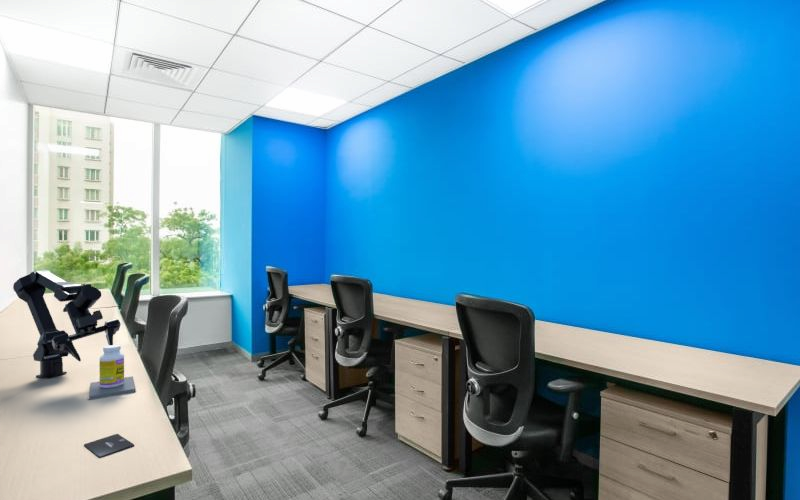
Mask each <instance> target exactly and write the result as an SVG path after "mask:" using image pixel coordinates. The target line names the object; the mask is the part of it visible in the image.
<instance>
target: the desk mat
mask: <svg viewBox="0 0 800 500" xmlns="http://www.w3.org/2000/svg"><path fill="white" fill-rule="evenodd" d="M136 392H137V391H136V385H135V379H134V376H133V375H132V376H126V377H125V376H124V383H123V384H122V385H121V386H118V387H114V388H101V387H100V380H99V381H93V382H90V383H89V393H88V401H89V400H96V399H102V398H107V397H114V396H119V395H124V394H131V393H136Z"/></svg>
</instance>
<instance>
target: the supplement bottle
mask: <svg viewBox="0 0 800 500" xmlns="http://www.w3.org/2000/svg"><path fill="white" fill-rule="evenodd" d="M121 348H122V347H121V345H120V344H113V345H109V344H108V345H105V346H103V347H102V350H103V354H102V355H100V357H99V381H100V387H101V388H114V387H118V386H121V385H122V384H123V383H124V378H125V354H124V353H122V352H121Z"/></svg>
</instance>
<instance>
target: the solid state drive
mask: <svg viewBox="0 0 800 500" xmlns="http://www.w3.org/2000/svg"><path fill="white" fill-rule="evenodd" d="M83 446H84V447H85V448H86V449H87V450H88V451H90V452H91V454H92V453H93V455H95V456H96V457H97V458H99V459H100V458H104V457H107V456H109V455H113V454H115V453H119V452H121V451H124V450H127V449H130V448H133V447H134V446H135V444H134V443H133V442H131V441H130V440H129V439H127V438H125V437H124V436H121V435H120V434H119V433H115V434H112V435H109V436H105V437H103V438H99V439H96V440H94V441H90V442H87V443H84V444H83Z"/></svg>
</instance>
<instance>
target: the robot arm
mask: <svg viewBox="0 0 800 500" xmlns="http://www.w3.org/2000/svg"><path fill="white" fill-rule="evenodd" d="M12 288H13V291H14V292H15V293H16V296H17V297H18V299H20V300H21V301H24V302H25V303H26V304H27V306H28V309H29V311H30V314H31V316H32V319H33V322H34V324H35V326H36V329H37V331H38V334H39V339H38V341H37V344H36V345H37V347H36V349H35V351H34V352H33V354H32V357H33V361H35V362H40V363H39V364H40V365H39V366H40V367H39V368H40V369H39V370H40V374H37V375H35V378H41V379H42V378H44V379H51V378H54V377H58V376H61V375H65V374H68V372H67V371H64V367H63V366H64V364H63V363H64V362H63V358H65V357H68V356H69V355H70V356H71V357H73V358H75V360H76V361H78V362H81V361H82V359H81V357H80V354H79V353H78V351H77V349H76V347H75V345H74V344H73V342H74V341H76V340H79V339H83V338H85V337H86V338H87V337H89V336H93V335H96V334H99V333H103V332H104V333H105V338H106V342H107V344H108V346H109V345H114V335H116V333H117V332H119V331H120V328H121V326H122V325H121V322H120V320H119V319H118V318H113V319H110V320H107V321H105V322H104V324H103V325H100V326H98V321H100V320H103V319H104V316H103V314H102V312H101V310H100V309H99V310H94V311H92V313H91V312H90V310H89V309H91V308H92V307H93V306H94V305H95V304H96V303H97V302H98V301H99V299H100V298H101V297H102V292H101V290H99V288H97V287H95V286H92V284H91V283H85V284H83V285H82V284H80V283H77V282H70V281H65V280H64V279H62V278H60V277H58V276H56V275H55V274H54V273H51V271H50V270H47V269H46V270H34V271H32V272H30V273H29V274H27V275H24V276H21V277H20V278H19V277H18V279H17V280H16V281H15V282H14V283H13V287H12ZM47 289H48V290H50V291H51V292H53V297H54V298H55V299H56V300H57V301H59V302H61V303H62V302H68V303H66V304H65V306H64V308H63V310H62V312H63V313H67V315H68V318H69V320H70V322H71V323H70V324H71V325H72V327H73V329H74V332H75V333H72V334H71V335H69V334H68V332H66V330H59V329H57V326H56V324H55V322H54V320H53V317H52V314H51V313H50V310H49V308H48V305H47V302H46V300H45V298H44V295H45V293H46V291H47ZM97 326H98V327H97Z"/></svg>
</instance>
